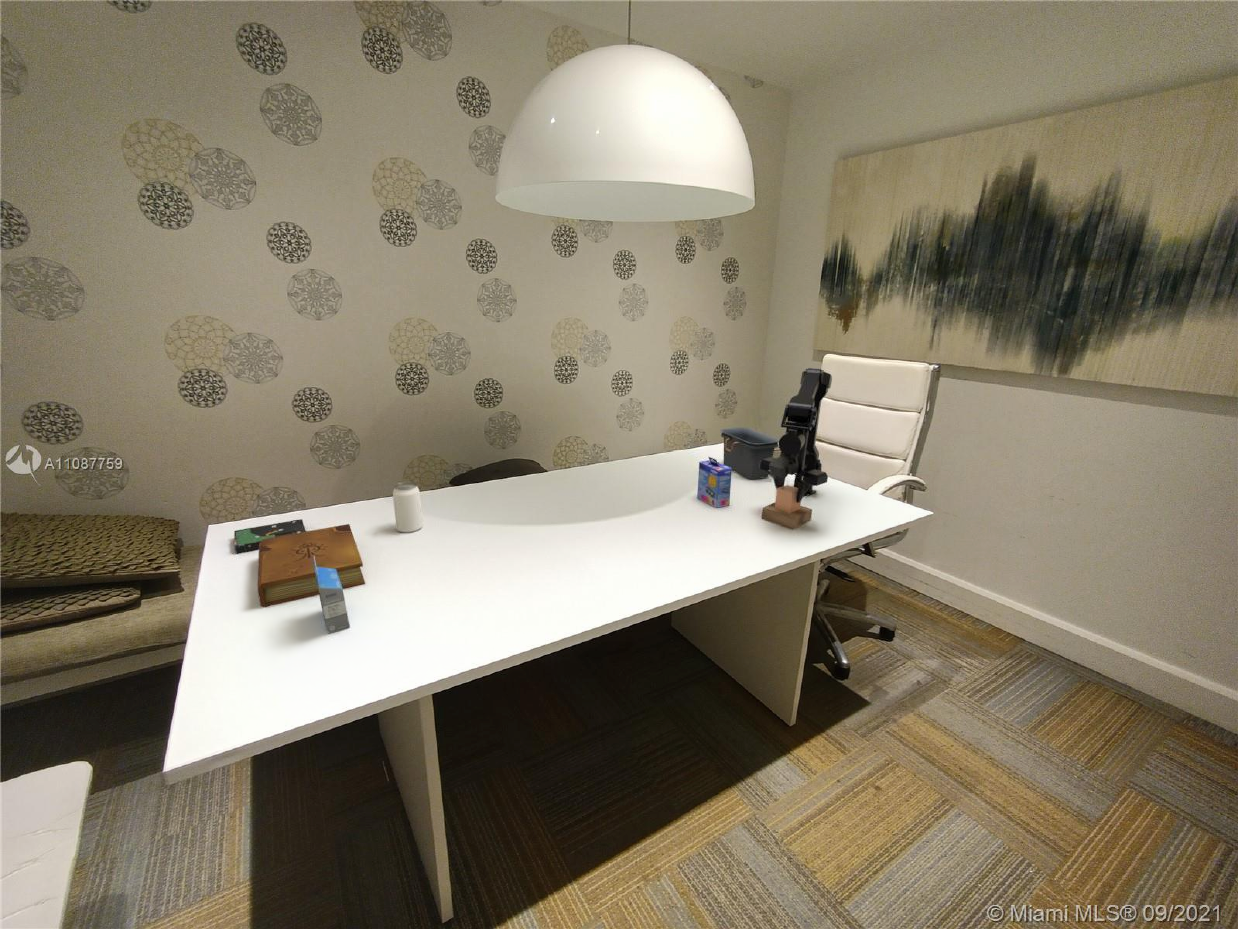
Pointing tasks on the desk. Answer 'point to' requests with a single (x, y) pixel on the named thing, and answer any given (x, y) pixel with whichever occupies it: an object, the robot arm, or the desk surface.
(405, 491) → the can
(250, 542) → the disk drive
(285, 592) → the diary
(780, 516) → the walnut block
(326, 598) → the label tape box
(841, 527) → the desk surface
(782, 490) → the terracotta box
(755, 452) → the storage bin
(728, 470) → the ink cartridge box
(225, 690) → the desk surface
